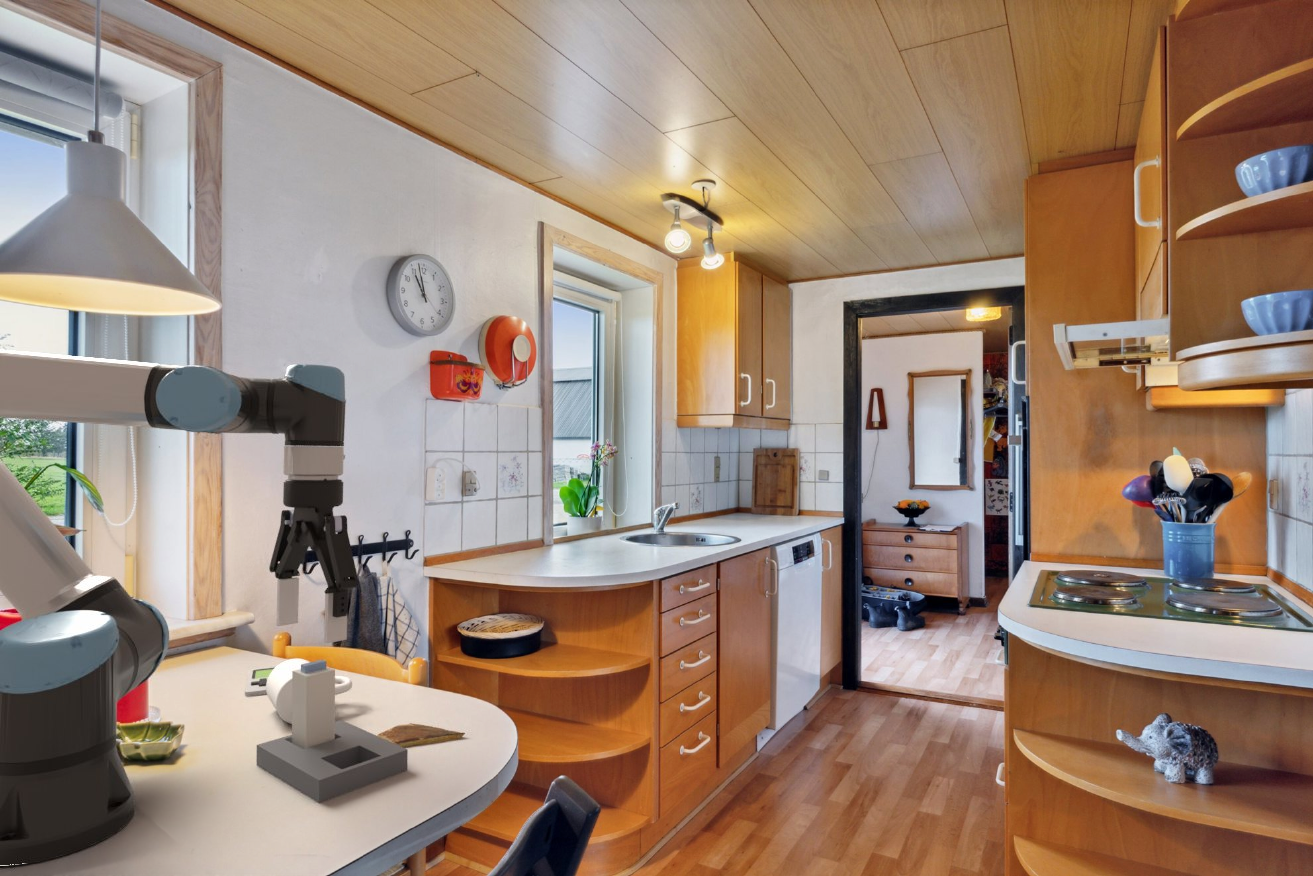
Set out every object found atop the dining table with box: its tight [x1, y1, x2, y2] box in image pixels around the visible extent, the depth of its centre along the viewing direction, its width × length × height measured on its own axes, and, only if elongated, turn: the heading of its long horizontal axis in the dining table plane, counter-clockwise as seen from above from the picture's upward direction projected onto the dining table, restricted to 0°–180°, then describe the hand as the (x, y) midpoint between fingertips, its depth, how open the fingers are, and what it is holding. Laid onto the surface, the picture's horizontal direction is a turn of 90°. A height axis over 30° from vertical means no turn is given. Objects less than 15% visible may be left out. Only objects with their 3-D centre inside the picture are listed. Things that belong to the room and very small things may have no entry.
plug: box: [291, 659, 336, 749], centre depth 105 cm, size 4×4×13 cm
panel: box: [256, 719, 408, 804], centre depth 102 cm, size 12×17×3 cm
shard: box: [376, 722, 466, 748], centre depth 111 cm, size 11×8×2 cm
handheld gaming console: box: [244, 665, 277, 698], centre depth 140 cm, size 10×2×15 cm
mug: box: [266, 658, 353, 725], centre depth 124 cm, size 12×10×8 cm
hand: (310, 632), depth 105 cm, fingers open, 13 cm apart
